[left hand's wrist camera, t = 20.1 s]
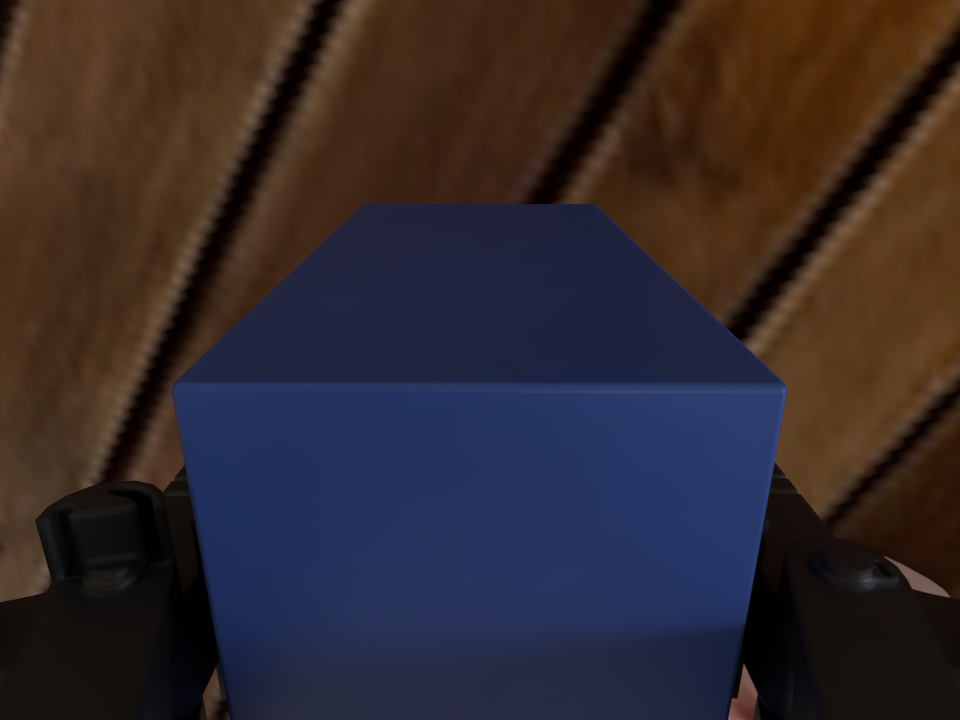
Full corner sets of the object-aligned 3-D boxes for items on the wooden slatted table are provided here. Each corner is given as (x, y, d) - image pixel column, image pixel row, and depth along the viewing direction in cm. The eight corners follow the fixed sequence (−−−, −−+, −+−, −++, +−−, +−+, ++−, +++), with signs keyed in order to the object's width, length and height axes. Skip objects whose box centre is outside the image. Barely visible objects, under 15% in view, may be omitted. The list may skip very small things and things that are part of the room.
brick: (596, 203, 15) (792, 384, 6) (578, 493, 18) (690, 944, 8) (362, 203, 15) (166, 385, 6) (380, 493, 18) (267, 945, 8)
